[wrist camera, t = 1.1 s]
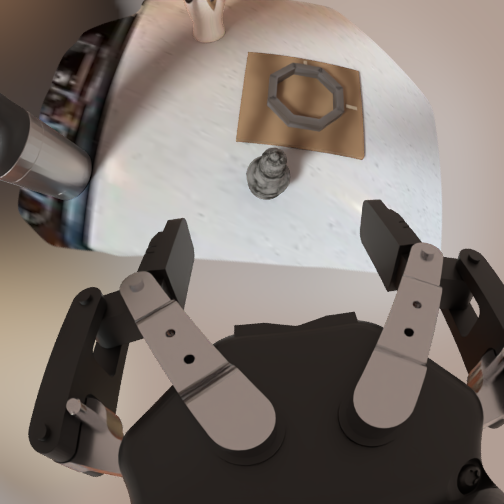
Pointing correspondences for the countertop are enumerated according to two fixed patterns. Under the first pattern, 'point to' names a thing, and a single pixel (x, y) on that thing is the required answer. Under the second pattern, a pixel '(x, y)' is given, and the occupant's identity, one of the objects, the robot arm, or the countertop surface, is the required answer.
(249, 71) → the socket plate
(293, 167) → the countertop surface
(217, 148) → the countertop surface
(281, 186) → the grey turned stone piece
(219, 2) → the beer glass
